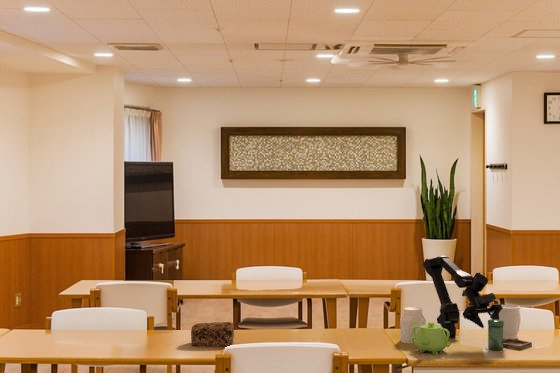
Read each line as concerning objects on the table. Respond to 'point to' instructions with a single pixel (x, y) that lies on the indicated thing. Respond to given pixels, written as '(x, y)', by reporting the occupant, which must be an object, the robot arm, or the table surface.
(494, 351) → the cork coaster
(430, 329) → the teapot
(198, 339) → the bread
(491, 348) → the tea canister
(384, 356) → the table surface
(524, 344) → the walnut tray
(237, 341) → the table surface
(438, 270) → the robot arm
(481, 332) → the table surface
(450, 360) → the table surface
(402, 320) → the jar
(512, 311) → the jar
